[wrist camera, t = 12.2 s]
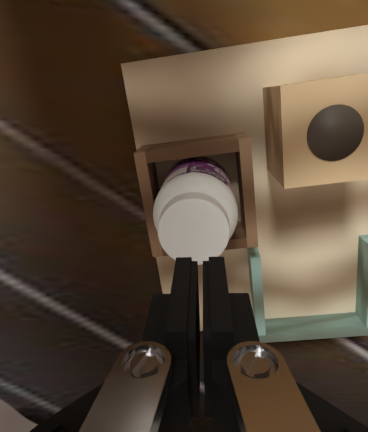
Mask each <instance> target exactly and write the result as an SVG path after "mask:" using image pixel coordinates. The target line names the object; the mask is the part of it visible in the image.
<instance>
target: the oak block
mask: <svg viewBox="0 0 368 432" xmlns="http://www.w3.org/2000/svg"><path fill="white" fill-rule="evenodd" d="M263 105H264V124H265V142H266V160H267V169H268V170H269V171H270V173H271V174H272V175H273V176H274V177H275V179H276V180H277V181H278V182H279V183H280V185H281V186H282V187H283V188H284V189H288V188H297V187H306V186H314V185H323V184H331V183H340V182H349V181H357V180H366V179H368V73H362V74H353V75H346V76H339V77H332V78H325V79H318V80H311V81H304V82H298V83H291V84H284V85H277V86H270V87H263Z"/></svg>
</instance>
